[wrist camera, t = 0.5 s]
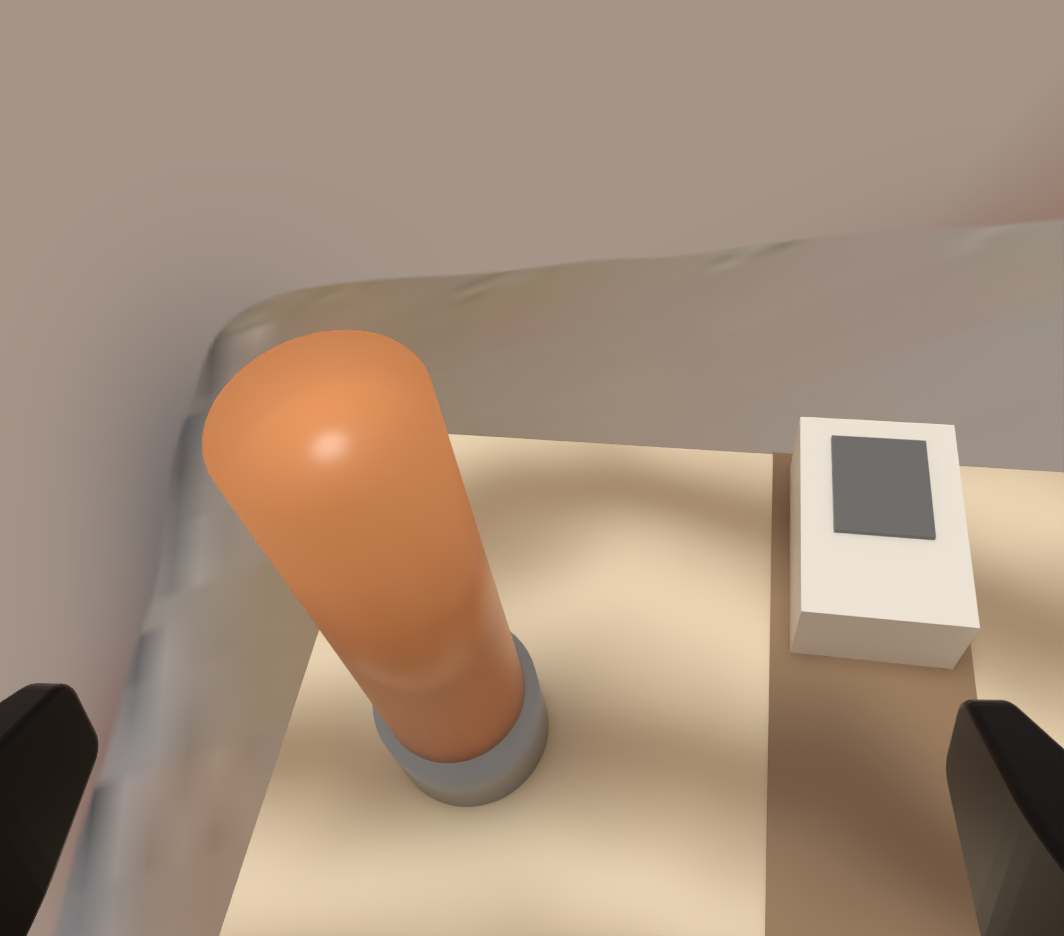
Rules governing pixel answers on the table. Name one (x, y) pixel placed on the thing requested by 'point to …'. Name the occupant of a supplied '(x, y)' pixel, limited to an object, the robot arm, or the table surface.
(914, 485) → the block
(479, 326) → the table surface
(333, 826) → the subfloor board
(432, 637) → the awl
